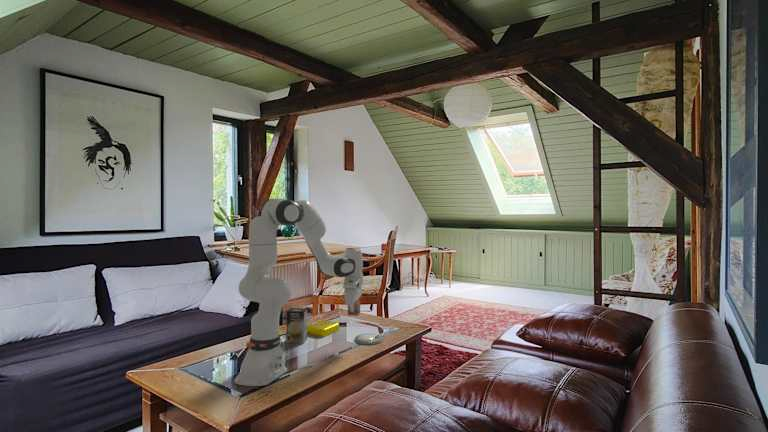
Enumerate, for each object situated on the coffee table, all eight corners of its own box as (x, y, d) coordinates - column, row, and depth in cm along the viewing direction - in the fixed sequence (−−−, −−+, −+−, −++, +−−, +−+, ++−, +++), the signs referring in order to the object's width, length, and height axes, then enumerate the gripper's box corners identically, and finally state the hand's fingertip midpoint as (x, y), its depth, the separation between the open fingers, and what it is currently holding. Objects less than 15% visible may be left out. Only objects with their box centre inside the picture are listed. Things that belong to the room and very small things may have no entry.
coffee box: (285, 343, 207) (285, 311, 206) (289, 339, 213) (289, 307, 213) (303, 344, 206) (303, 311, 205) (307, 339, 212) (307, 308, 212)
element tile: (323, 338, 216) (323, 329, 216) (300, 333, 223) (300, 324, 223) (340, 330, 229) (340, 321, 229) (318, 326, 236) (318, 317, 236)
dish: (380, 345, 204) (380, 343, 204) (352, 343, 206) (352, 341, 206) (384, 336, 218) (384, 334, 218) (358, 334, 220) (358, 332, 220)
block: (358, 315, 200) (357, 303, 200) (347, 315, 201) (347, 302, 201) (360, 312, 205) (360, 300, 205) (350, 312, 206) (350, 300, 206)
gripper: (352, 276, 213) (352, 303, 214) (342, 285, 193) (342, 315, 193) (364, 277, 212) (364, 304, 213) (355, 285, 192) (355, 315, 192)
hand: (354, 309), depth 203 cm, fingers closed on block, 5 cm apart
